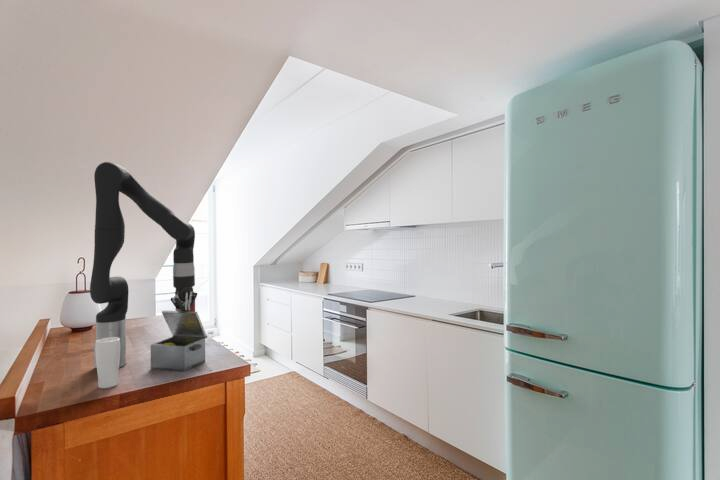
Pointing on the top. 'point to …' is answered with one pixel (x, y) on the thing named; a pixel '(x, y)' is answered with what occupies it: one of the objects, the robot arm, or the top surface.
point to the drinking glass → (107, 361)
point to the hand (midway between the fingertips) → (185, 319)
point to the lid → (184, 324)
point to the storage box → (178, 353)
